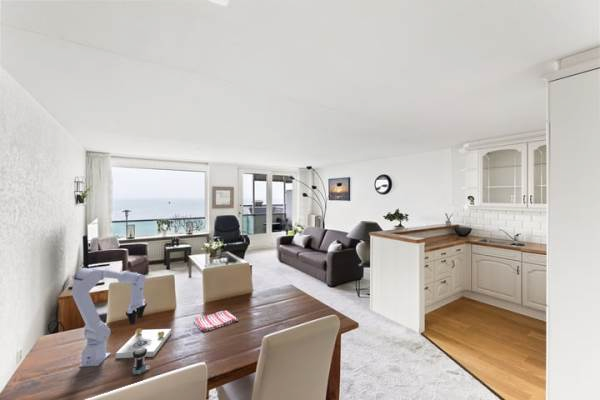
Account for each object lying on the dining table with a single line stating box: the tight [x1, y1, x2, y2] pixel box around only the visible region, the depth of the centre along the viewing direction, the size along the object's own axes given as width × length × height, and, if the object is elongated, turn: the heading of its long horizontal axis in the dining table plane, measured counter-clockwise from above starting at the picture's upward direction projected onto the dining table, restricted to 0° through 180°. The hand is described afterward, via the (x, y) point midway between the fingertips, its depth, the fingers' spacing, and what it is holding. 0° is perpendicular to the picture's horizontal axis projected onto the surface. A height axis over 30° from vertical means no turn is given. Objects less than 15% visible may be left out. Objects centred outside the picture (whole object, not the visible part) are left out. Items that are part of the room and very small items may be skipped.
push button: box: [132, 347, 150, 376], centre depth 111 cm, size 7×5×10 cm
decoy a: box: [134, 327, 143, 335], centre depth 137 cm, size 3×3×3 cm
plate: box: [115, 328, 172, 359], centre depth 132 cm, size 22×17×2 cm
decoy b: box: [157, 331, 164, 338], centre depth 135 cm, size 3×3×3 cm
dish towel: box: [193, 310, 239, 333], centre depth 160 cm, size 17×23×4 cm
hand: (136, 320), depth 137 cm, fingers open, 7 cm apart
